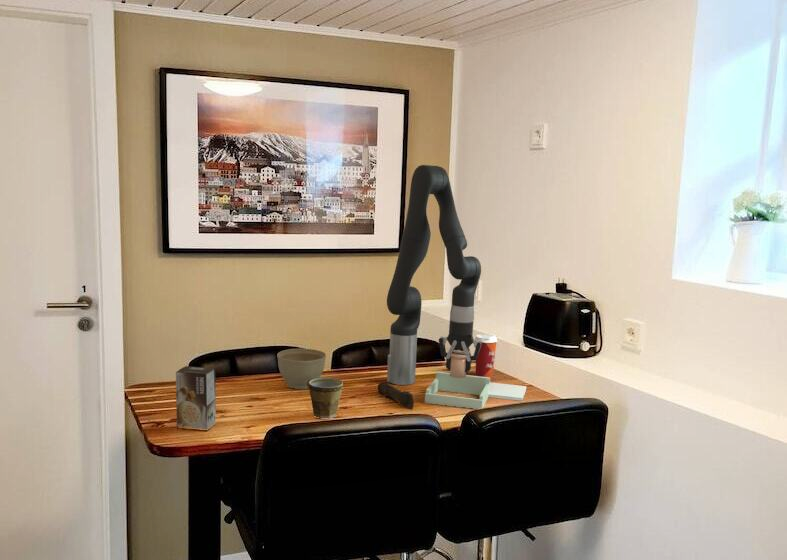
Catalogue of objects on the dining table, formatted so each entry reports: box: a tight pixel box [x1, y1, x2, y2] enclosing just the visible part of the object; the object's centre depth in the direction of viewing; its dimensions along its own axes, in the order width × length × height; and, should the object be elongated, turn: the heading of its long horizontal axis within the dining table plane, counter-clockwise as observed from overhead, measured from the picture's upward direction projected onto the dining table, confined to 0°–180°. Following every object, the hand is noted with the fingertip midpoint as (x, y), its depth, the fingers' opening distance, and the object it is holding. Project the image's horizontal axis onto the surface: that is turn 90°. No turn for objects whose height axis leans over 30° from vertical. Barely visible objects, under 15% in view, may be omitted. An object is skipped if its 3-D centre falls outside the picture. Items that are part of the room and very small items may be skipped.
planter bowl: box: [276, 348, 327, 390], centre depth 228 cm, size 16×16×11 cm
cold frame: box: [424, 371, 491, 410], centre depth 220 cm, size 18×16×6 cm
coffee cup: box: [474, 333, 498, 380], centre depth 247 cm, size 8×8×15 cm
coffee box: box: [175, 365, 217, 429], centre depth 187 cm, size 9×6×16 cm
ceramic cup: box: [307, 377, 344, 419], centre depth 201 cm, size 13×10×10 cm
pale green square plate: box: [478, 381, 527, 402], centre depth 229 cm, size 14×14×1 cm
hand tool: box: [377, 381, 415, 410], centre depth 216 cm, size 19×4×5 cm, turn 28°
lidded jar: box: [449, 350, 467, 378], centre depth 219 cm, size 6×6×8 cm
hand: (458, 370), depth 219 cm, fingers closed on lidded jar, 5 cm apart
